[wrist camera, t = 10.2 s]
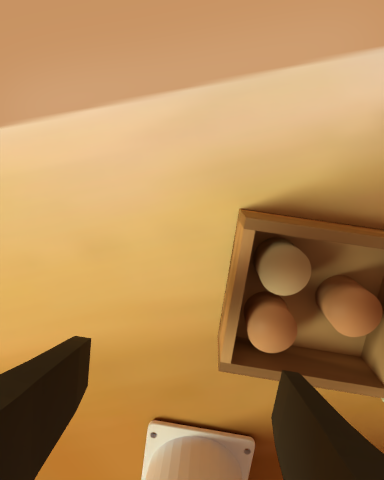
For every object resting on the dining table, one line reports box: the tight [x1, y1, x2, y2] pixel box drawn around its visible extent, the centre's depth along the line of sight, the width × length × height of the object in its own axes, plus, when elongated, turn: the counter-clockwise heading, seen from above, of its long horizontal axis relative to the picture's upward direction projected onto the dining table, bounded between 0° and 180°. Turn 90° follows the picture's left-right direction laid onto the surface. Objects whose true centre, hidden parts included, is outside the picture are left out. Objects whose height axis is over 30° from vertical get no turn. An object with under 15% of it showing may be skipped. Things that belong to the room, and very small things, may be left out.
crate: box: [218, 209, 384, 398], centre depth 19 cm, size 9×10×4 cm
